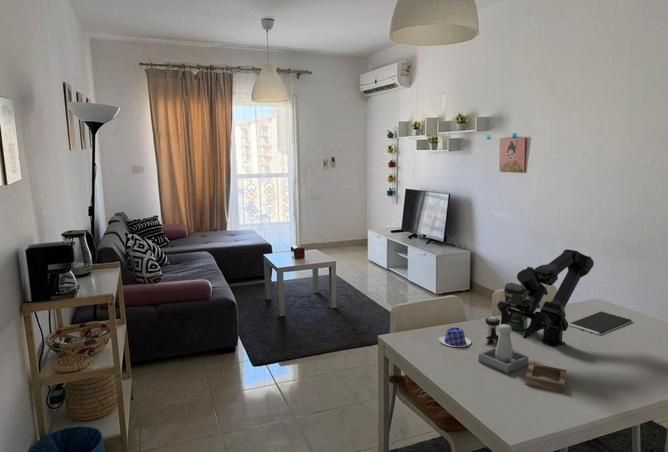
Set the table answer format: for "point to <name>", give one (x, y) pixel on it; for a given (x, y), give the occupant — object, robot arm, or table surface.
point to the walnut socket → (546, 382)
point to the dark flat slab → (600, 323)
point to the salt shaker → (504, 344)
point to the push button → (492, 329)
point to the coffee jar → (516, 320)
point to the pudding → (455, 338)
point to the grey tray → (491, 360)
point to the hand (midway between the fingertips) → (512, 334)
